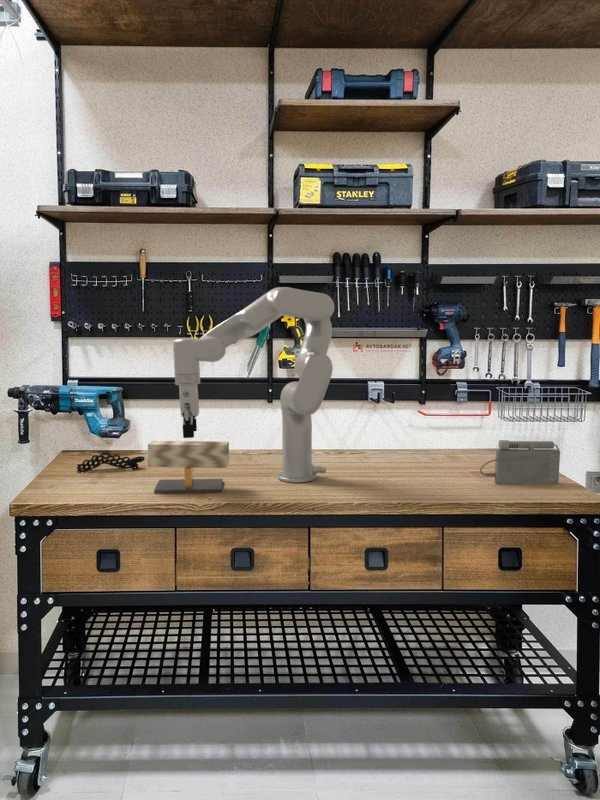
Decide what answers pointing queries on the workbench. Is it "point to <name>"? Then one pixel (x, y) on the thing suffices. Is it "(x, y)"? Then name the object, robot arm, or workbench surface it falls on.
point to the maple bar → (188, 454)
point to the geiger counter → (526, 463)
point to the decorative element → (110, 462)
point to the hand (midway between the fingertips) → (190, 434)
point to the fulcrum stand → (189, 484)
